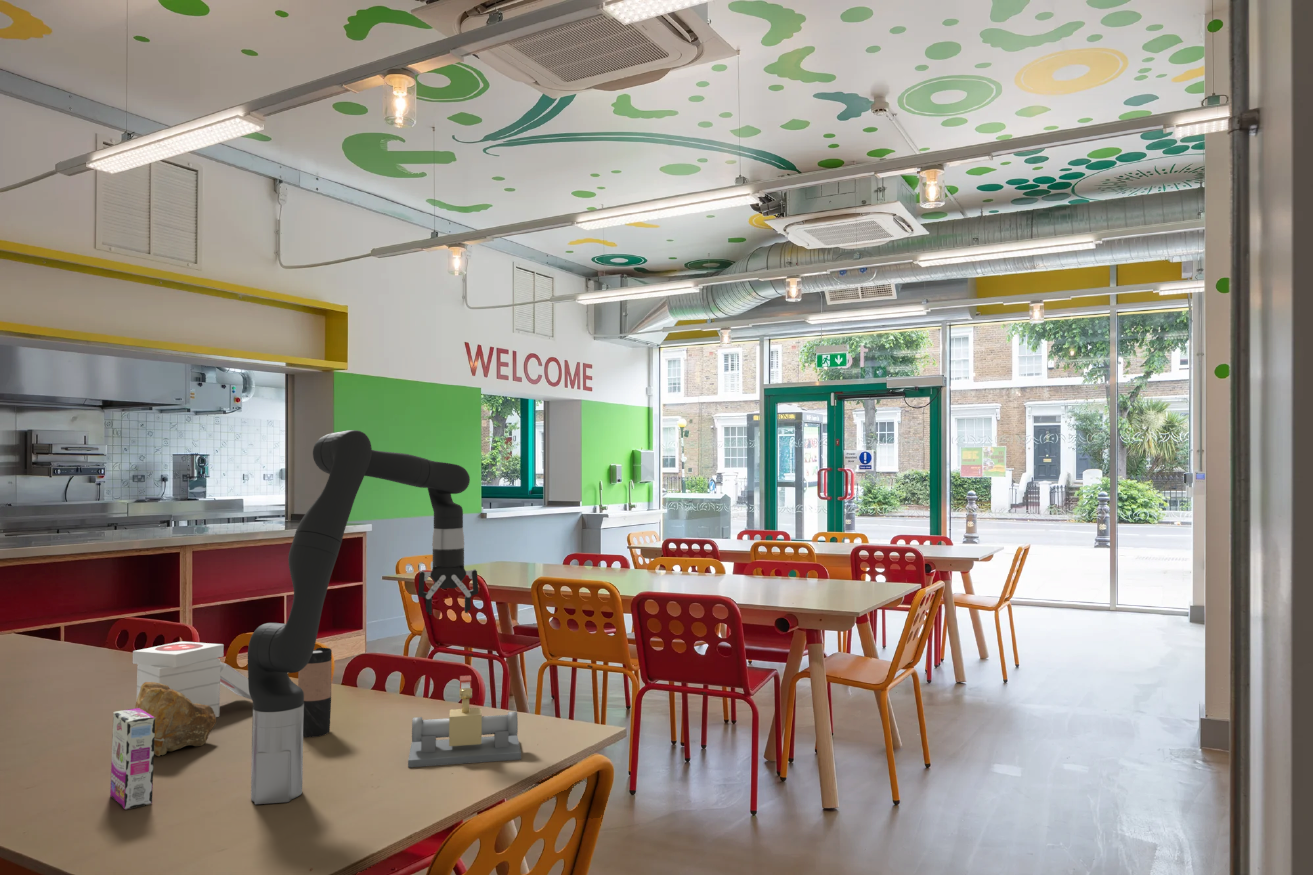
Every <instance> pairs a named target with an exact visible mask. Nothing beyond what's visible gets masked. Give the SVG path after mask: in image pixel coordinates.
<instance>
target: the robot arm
mask: <svg viewBox="0 0 1313 875" xmlns="http://www.w3.org/2000/svg"><path fill="white" fill-rule="evenodd" d="M372 448H373V447H372V442H371V440H370V438H369V436H368V435H367V434H366V433H364V432H362V431H361V430H356V429H351V430H343V431H337V432H330V433H328V434H325V435H323V436H321V437H320V438H318V440H317V441H316V442H315V443H314V446H313V449H312V458H313V460H314V463H315V465H316V467H317V468H318V469H319V470H320V471H322V472H323V473H325V474H328V478H327V481H326V484H325V486H324V488H323V490H322V491H321V493H320V495H319V496H318V497H317V498H316V500H315V501H314V503H313V504H312V505H311V506H310V507H309V508H308V509H307V511H306V513H305V514H304V515H303V516H302V519H301V520H300V521H299V523H298V526H297V527H296V530H295V533H294V536H293V540H292V542H291V543H292V544H291V545H290V549H289V551H288V552H289V553H288V567H289V573H290V578H291V579H290V580H291V583H292V588H293V598H292V599H293V600H292V606H291V609H290V612H289V615H288V619H287V621H286V622H285V623H279V622H266V623H263V624H261V625H259V626H258V627H256V629H255V630H254V632H253V633H252V634H251V636H250V639H249V642H248V648H247V678H248V687H249V693H250V696H251V698H252V700H251V701H252V719H251V720H252V722H251V723H252V725H251V726H252V727H251V766H250V767H251V770H250V772H251V773H250V775H251V776H250V779H251V781H250V800H251V801H252V802H254V805H263V804H264V805H267V804H278V803H279V804H280V803H289V802H290V801H292V800H293V799H295V798H297V797H299V796H301V795H302V793H303V774H304V773H303V772H304V771H303V769H304V768H303V766H304V765H303V764H304V763H303V759H304V753H303V752H304V737H303V717H304V692H303V690H302V689H301V688H300V687H299V686H298V684H296V683H295V682H293V680H292V679H291V678H290V676H289V674H294V673H299V671H300V670H302V669H303V668H304V667H305V666H306V665H307V663H308V662H309V660H310V658H311V656H312V653H313V650H315V648H316V643H317V637H318V633H319V627H320V622H321V617H322V612H323V606H324V603H325V600H326V596H327V591H328V589H329V588H328V587H329V583H330V580H331V576H332V574H333V570H334V567H335V565H336V561H337V558H338V556H339V552H340V548H341V546H342V543H343V538H344V534H345V531H346V530H345V529H346V527H347V524H348V521H349V518H350V515H351V511H352V510H353V505H354V503H355V499H356V496H357V494H358V492H359V489H360V487H361V485H362V482H363V480H364V478H365V477H370V478H376V479H381V480H386V481H389V482H394V483H398V484H402V485H405V486H410V487H415V488H421V489H427V491H428V492H427V493H428V495H429V496H428V497H429V500H430V503H431V507H432V511H433V532H432V545H431V546H432V570H431V571H424V570H421V571H419V577H418V593H417V595H418V597H419V598H423V599H425V611H426V613H428V615H429V616H430V615H431V616H432V614H433V613H432V612H433V607H432V606H433V598H432V597H433V596H434V594H435V593H436V592H437V591H438V589H442V590H445V589H446V590H447V589H457V588H459V589H460V590H461V592H462V593H463V594H464V595H465V596H464V613H465V614H467V613H469V611H471V608H472V607H471V605H472V604H471V603H472V602H471V599H472V596H475V595H478V594H479V583H478V582H479V580H478V570H477V569H475V568H473V569H470V570H466V569H465V535H464V510H463V507H462V505H460V504H457V503H456V502H454V501H453V500H454V499H453V498H452V495H456V494H457V495H458V494H460V493H461V494H462V493H463V492H465V491H466V490H467V489H468V487H469V486H470V482H471V480H470V479H471V477H470V474H469V472H468V471H467V470H466V469H465V468H464V467H463V466H462V465H458V464H455V463H448V462H443V461H435V460H431V459H428V458H423V457H421V456H417V455H412V454H409V453H401V452H392V451H385V450H382V451H381V450H375V449H372ZM466 576H468V578H469V579H470V580H472V581H471V582H472V589H470V590H469V588H467V586H466V585H465V584H464V583H463V580H465V577H466ZM429 577H430V578H431V579H432V580H433V581H434V583H433V584H432V586H431V587H430V589H429V590H428V591H427V592H426V591H424V589H425V582H427V581H428V579H429Z"/></svg>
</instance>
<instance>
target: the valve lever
mask: <svg viewBox="0 0 1313 875" xmlns="http://www.w3.org/2000/svg"><path fill="white" fill-rule="evenodd" d="M458 695H459V699H461V700H462V699H469V700H470V699H472V698H473V688H472V676H471V675H459V694H458Z"/></svg>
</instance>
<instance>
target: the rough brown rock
mask: <svg viewBox="0 0 1313 875" xmlns="http://www.w3.org/2000/svg"><path fill="white" fill-rule="evenodd" d="M135 702H136V703H135V705H134V709H135V708H140V709H142V710H143V711H145V712H147V713H148V714H150V715H152V716H153V717H155V737H154V756H157V757H161V756H160V755H162V756H164V755H166V754H167V752H174V751H177V750H181V749H182V748H184V747H187V746H193V747H202V746H203V745H205V744H206V742H207V740H208V739H209V735H210V733H211V732H212V730H213V729H214V726H215V724H216V723H217V717H216V716H215V713H214V711H213V709H212V708H211V707H210V706H209V705H202V704H197V703H194V704H193V703H192V702H191V701H190V700H189V699H188V698H186V697H185V695H183V694H182V693H180V692H177V691H174V690H173V689H170V688H169V686H167V685H163V684H160V683H156V682H145V683H143V684H142V686H141V689H140V692H139V695H138V698H137V697H136V701H135Z"/></svg>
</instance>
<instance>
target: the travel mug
mask: <svg viewBox="0 0 1313 875" xmlns="http://www.w3.org/2000/svg"><path fill="white" fill-rule="evenodd" d="M332 653H333V652H332V648H329V647H317V648H316V649H314V650H313V653H312V656H311V658H310V660H309V662H308V663H307V665H306V666H305V667H304V668H303V669H302V670H300V671H299V672H298V678H297V680H298V681H297V682H298V683H297V686H299V687H300V688H301V689H302V690H303V692H304V717H303V738H316V737H322V736H326V735H327V734H329V733H330V728H331V713H332V712H331V709H332V708H331V707H332V664H333V663H332V655H333V654H332ZM325 734H326V735H325Z"/></svg>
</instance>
